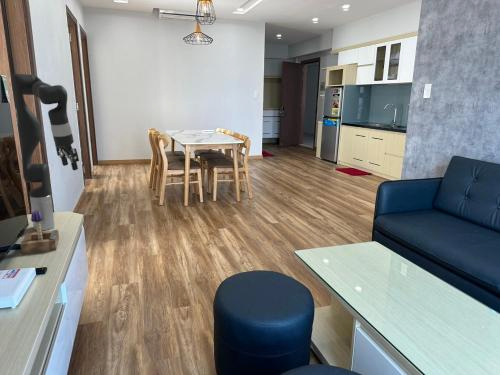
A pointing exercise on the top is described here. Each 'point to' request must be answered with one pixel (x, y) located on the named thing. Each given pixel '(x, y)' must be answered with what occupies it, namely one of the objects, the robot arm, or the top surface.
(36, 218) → the toy lamp
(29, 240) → the walnut jig
